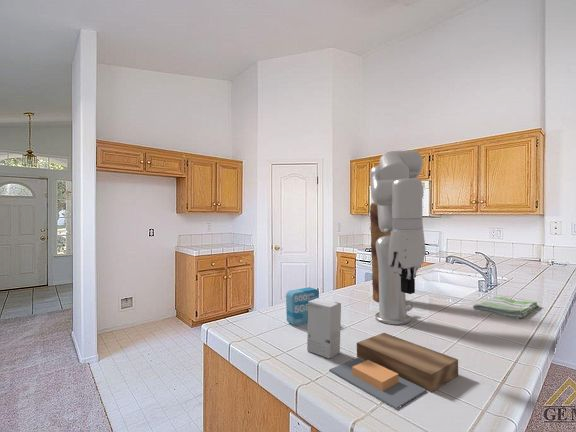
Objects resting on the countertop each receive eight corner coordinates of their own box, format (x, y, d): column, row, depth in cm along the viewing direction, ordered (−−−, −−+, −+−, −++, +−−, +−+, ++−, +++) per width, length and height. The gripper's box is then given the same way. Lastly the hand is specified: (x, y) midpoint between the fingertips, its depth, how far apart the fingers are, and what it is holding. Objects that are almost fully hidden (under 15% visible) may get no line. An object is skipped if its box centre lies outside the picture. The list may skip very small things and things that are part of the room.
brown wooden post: (375, 295, 152) (374, 203, 152) (397, 298, 146) (396, 202, 145) (367, 300, 144) (365, 202, 143) (390, 304, 137) (389, 201, 137)
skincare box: (306, 351, 92) (305, 301, 92) (318, 344, 96) (317, 296, 96) (331, 359, 86) (330, 306, 86) (342, 352, 91) (341, 301, 91)
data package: (292, 326, 112) (292, 293, 112) (286, 323, 116) (285, 291, 116) (319, 320, 119) (319, 288, 118) (312, 317, 122) (312, 286, 122)
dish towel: (471, 310, 128) (471, 301, 128) (492, 300, 143) (492, 292, 143) (521, 321, 115) (521, 311, 115) (539, 308, 129) (539, 300, 129)
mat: (358, 358, 87) (358, 357, 87) (426, 391, 70) (426, 389, 70) (329, 370, 80) (329, 369, 80) (396, 409, 64) (396, 407, 64)
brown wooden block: (384, 345, 95) (383, 332, 95) (458, 375, 77) (458, 359, 77) (356, 356, 88) (356, 342, 88) (431, 392, 70) (431, 374, 70)
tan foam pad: (368, 359, 81) (368, 367, 81) (352, 366, 77) (352, 374, 77) (398, 373, 74) (398, 382, 74) (382, 382, 70) (382, 391, 70)
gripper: (411, 222, 91) (411, 284, 92) (377, 226, 82) (378, 294, 83) (435, 223, 85) (436, 290, 86) (402, 227, 76) (403, 301, 77)
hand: (407, 292), depth 85 cm, fingers closed
